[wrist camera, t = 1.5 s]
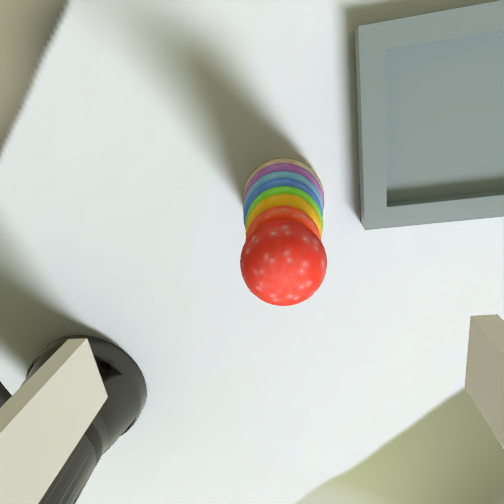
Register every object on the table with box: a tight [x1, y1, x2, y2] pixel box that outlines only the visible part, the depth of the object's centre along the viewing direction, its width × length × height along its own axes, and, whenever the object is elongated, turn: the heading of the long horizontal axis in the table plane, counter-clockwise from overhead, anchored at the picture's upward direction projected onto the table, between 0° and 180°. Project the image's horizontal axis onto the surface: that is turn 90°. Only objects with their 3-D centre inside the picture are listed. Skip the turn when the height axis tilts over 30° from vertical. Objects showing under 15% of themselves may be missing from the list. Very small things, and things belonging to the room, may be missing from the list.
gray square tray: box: [354, 0, 504, 230], centre depth 31 cm, size 17×17×2 cm
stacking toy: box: [240, 158, 327, 306], centre depth 28 cm, size 8×8×19 cm
